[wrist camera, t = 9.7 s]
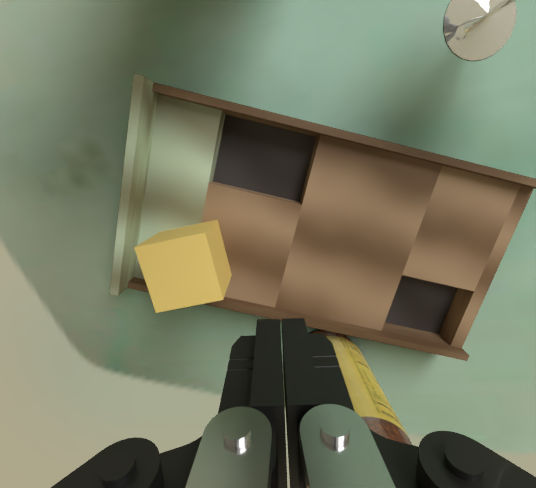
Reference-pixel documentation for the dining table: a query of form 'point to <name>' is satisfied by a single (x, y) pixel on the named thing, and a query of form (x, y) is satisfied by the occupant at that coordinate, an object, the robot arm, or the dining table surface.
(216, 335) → the dining table surface
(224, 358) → the dining table surface
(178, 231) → the mustard block
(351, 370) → the sauce bottle
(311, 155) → the trap deck
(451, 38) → the wineglass
